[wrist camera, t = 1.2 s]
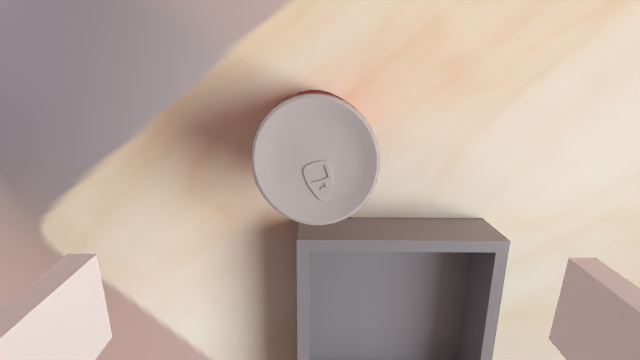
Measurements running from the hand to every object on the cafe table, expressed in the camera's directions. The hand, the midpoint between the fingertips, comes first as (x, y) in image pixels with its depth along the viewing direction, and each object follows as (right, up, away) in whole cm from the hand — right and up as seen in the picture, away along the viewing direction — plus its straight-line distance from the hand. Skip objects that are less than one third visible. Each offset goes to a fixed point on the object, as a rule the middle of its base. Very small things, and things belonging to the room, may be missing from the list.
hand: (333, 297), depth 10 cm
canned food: (-1, +7, +22) cm, 23 cm away
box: (+6, -8, +26) cm, 28 cm away
